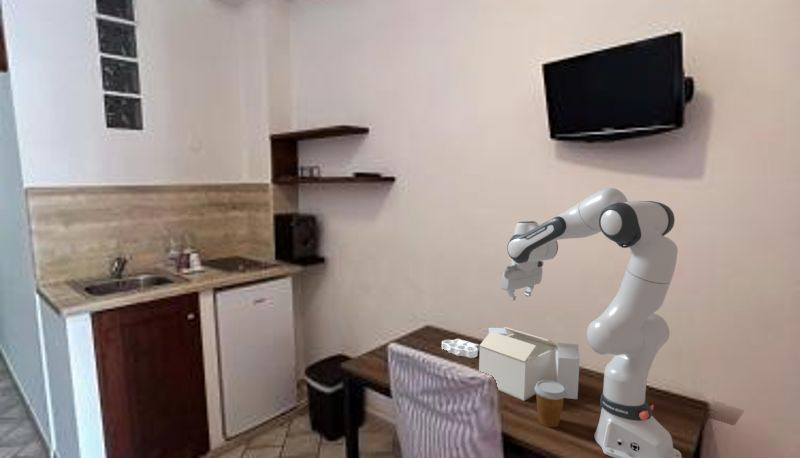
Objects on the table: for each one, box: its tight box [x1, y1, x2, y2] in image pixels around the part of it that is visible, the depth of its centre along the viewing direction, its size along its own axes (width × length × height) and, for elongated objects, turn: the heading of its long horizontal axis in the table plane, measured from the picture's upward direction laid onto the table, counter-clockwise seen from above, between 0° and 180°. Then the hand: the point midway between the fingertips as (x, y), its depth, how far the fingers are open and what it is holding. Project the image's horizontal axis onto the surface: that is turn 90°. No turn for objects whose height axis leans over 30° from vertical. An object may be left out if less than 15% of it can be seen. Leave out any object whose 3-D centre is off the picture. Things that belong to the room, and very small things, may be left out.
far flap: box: [503, 326, 557, 347], centre depth 175 cm, size 20×8×1 cm, turn 42°
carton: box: [478, 333, 557, 402], centre depth 171 cm, size 20×22×14 cm
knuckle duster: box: [441, 338, 480, 359], centre depth 203 cm, size 3×18×15 cm
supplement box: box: [487, 327, 508, 336], centre depth 194 cm, size 7×7×13 cm
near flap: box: [479, 331, 536, 362], centre depth 165 cm, size 20×8×1 cm, turn 42°
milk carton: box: [554, 342, 581, 400], centre depth 162 cm, size 7×7×19 cm
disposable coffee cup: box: [535, 381, 566, 428], centre depth 143 cm, size 10×10×12 cm
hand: (520, 298), depth 171 cm, fingers open, 8 cm apart
